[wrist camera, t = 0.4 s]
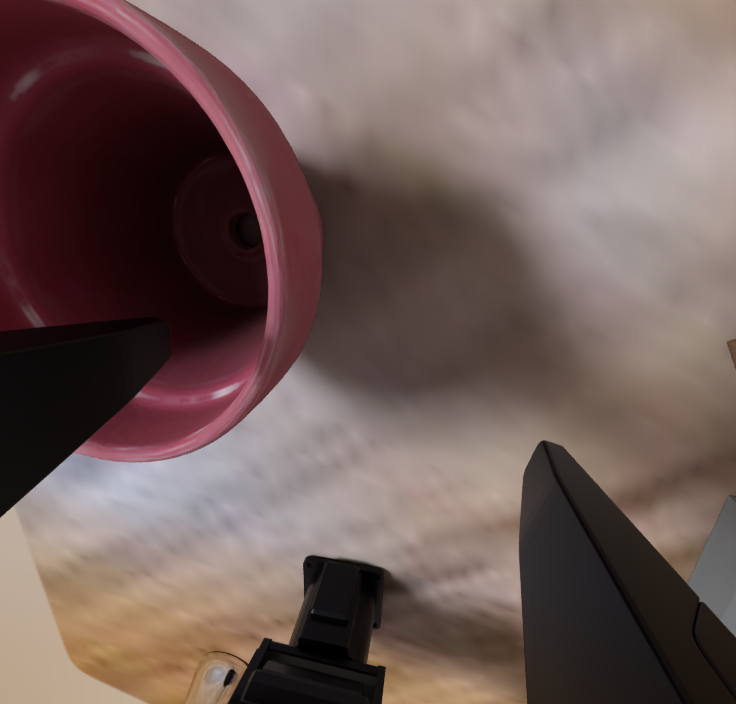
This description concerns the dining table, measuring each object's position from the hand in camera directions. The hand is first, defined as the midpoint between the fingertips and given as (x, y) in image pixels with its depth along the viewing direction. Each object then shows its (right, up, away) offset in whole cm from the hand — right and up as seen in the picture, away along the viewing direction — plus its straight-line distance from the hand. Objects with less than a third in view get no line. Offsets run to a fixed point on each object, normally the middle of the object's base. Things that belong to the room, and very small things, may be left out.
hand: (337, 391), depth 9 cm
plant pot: (-6, +8, +14) cm, 18 cm away
